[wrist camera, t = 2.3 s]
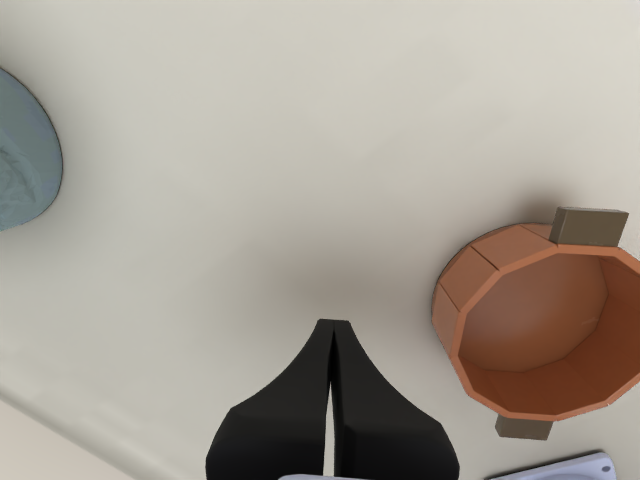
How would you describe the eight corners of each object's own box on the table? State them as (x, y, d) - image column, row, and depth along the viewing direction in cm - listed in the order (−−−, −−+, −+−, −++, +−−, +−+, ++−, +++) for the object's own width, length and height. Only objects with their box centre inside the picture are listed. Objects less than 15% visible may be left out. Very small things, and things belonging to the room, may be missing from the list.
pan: (417, 383, 20) (433, 434, 16) (450, 190, 16) (480, 205, 13) (569, 394, 19) (617, 448, 16) (641, 200, 16) (723, 218, 12)
